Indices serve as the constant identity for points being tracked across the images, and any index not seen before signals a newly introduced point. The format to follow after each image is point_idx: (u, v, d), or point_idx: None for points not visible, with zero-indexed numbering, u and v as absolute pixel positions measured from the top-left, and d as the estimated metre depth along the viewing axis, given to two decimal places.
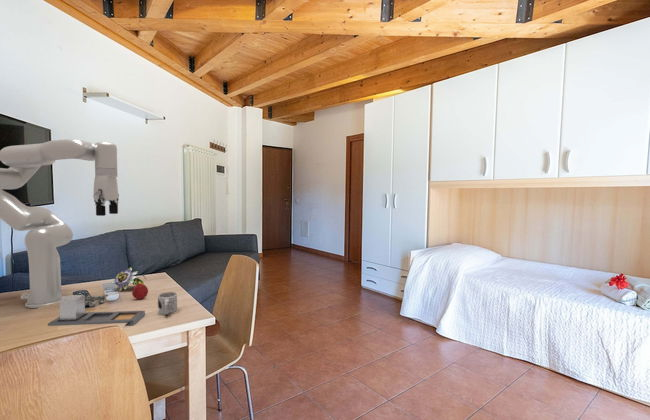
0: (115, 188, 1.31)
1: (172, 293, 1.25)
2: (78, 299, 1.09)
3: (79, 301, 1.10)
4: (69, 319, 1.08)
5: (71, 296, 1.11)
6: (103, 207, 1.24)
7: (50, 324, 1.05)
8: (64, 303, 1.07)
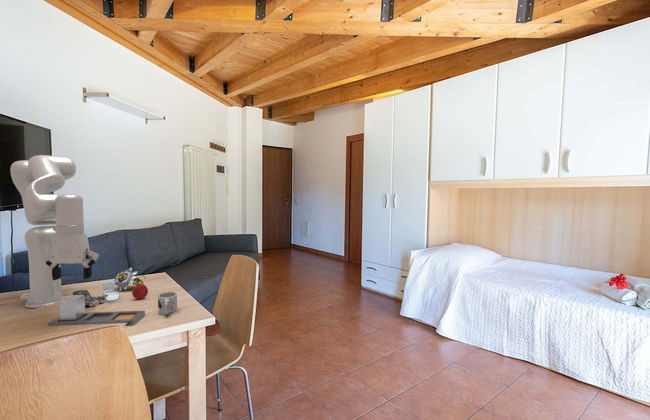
0: None
1: (172, 293, 1.25)
2: (78, 299, 1.09)
3: (79, 301, 1.10)
4: (69, 319, 1.08)
5: (71, 296, 1.11)
6: None
7: (50, 324, 1.05)
8: (64, 303, 1.07)
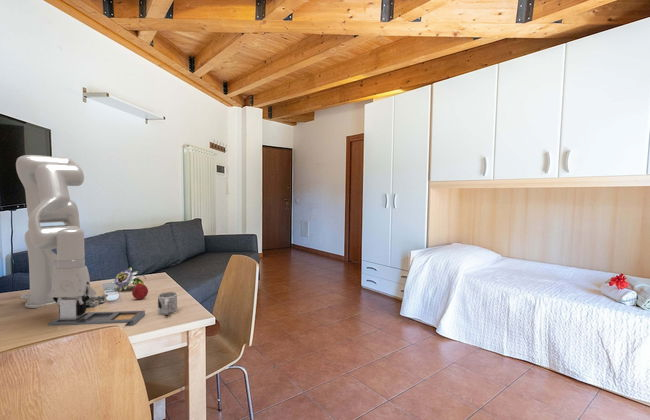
0: None
1: (172, 293, 1.25)
2: None
3: None
4: (69, 319, 1.08)
5: None
6: None
7: (50, 324, 1.05)
8: (64, 303, 1.07)
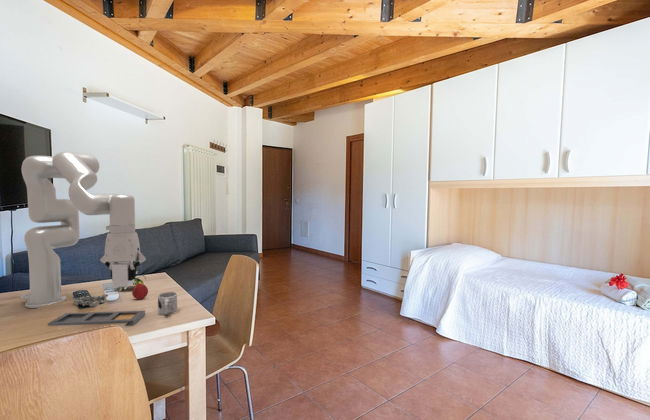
0: None
1: (172, 293, 1.25)
2: None
3: None
4: (121, 283, 1.10)
5: (122, 262, 1.12)
6: None
7: (50, 324, 1.05)
8: (116, 268, 1.09)
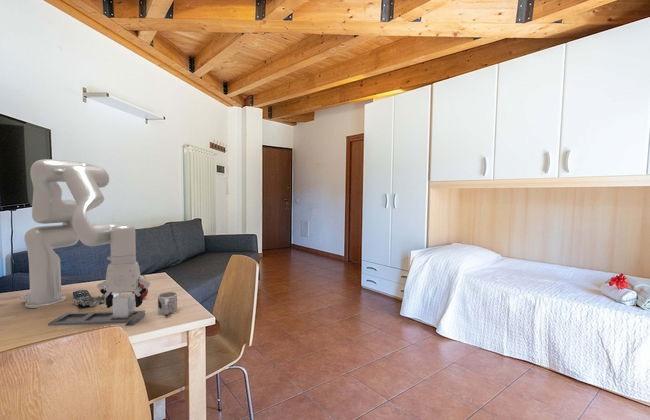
0: None
1: (172, 293, 1.25)
2: (130, 297, 1.12)
3: (130, 299, 1.12)
4: (121, 317, 1.10)
5: (122, 294, 1.13)
6: None
7: (50, 324, 1.05)
8: (117, 301, 1.10)
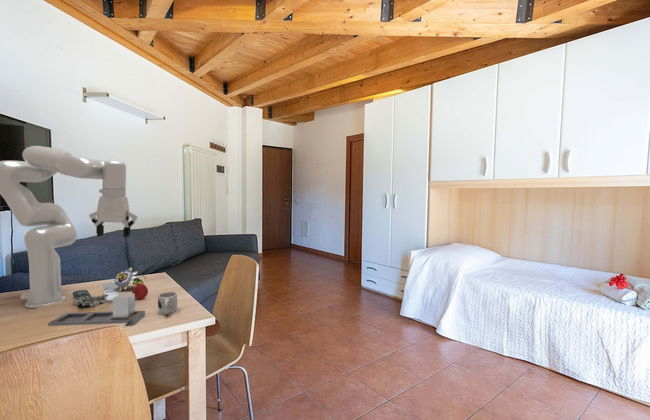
0: None
1: (172, 293, 1.25)
2: (130, 297, 1.12)
3: (130, 299, 1.12)
4: (121, 317, 1.10)
5: (122, 294, 1.13)
6: None
7: (50, 324, 1.05)
8: (117, 301, 1.10)
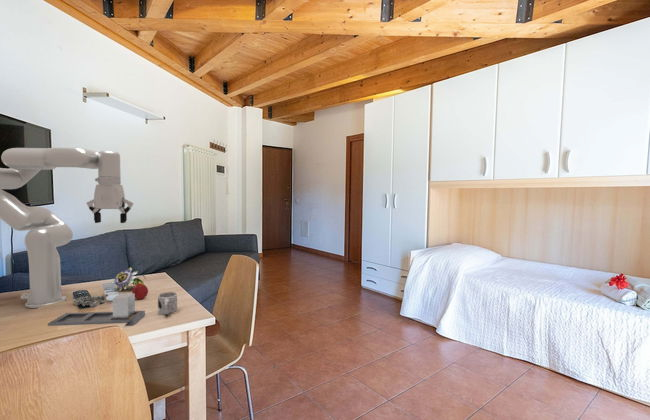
0: None
1: (172, 293, 1.25)
2: (130, 297, 1.12)
3: (130, 299, 1.12)
4: (121, 317, 1.10)
5: (122, 294, 1.13)
6: None
7: (50, 324, 1.05)
8: (117, 301, 1.10)
